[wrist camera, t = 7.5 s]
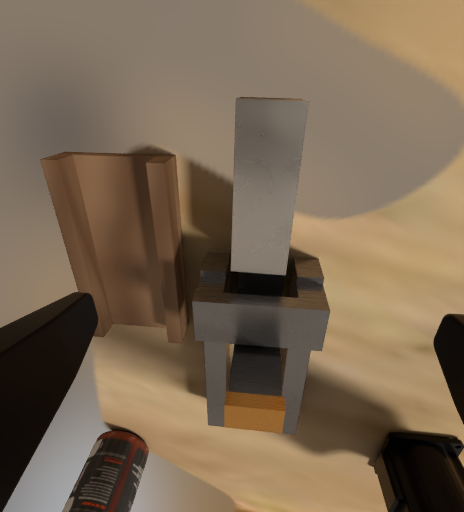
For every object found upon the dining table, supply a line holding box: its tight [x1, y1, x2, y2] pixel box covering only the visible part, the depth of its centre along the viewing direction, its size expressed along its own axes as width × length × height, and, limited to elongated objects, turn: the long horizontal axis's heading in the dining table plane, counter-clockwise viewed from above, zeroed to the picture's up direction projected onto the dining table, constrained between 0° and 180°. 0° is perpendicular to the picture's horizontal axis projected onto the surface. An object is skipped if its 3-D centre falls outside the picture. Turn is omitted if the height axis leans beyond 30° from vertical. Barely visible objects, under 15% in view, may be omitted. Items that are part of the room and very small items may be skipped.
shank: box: [231, 97, 309, 275], centre depth 17 cm, size 3×9×4 cm, turn 179°
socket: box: [192, 253, 330, 434], centre depth 22 cm, size 8×16×5 cm, turn 0°
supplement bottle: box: [62, 431, 148, 512], centre depth 29 cm, size 6×6×11 cm
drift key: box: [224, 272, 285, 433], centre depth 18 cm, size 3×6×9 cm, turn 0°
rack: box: [41, 152, 189, 343], centre depth 21 cm, size 7×13×2 cm, turn 0°
